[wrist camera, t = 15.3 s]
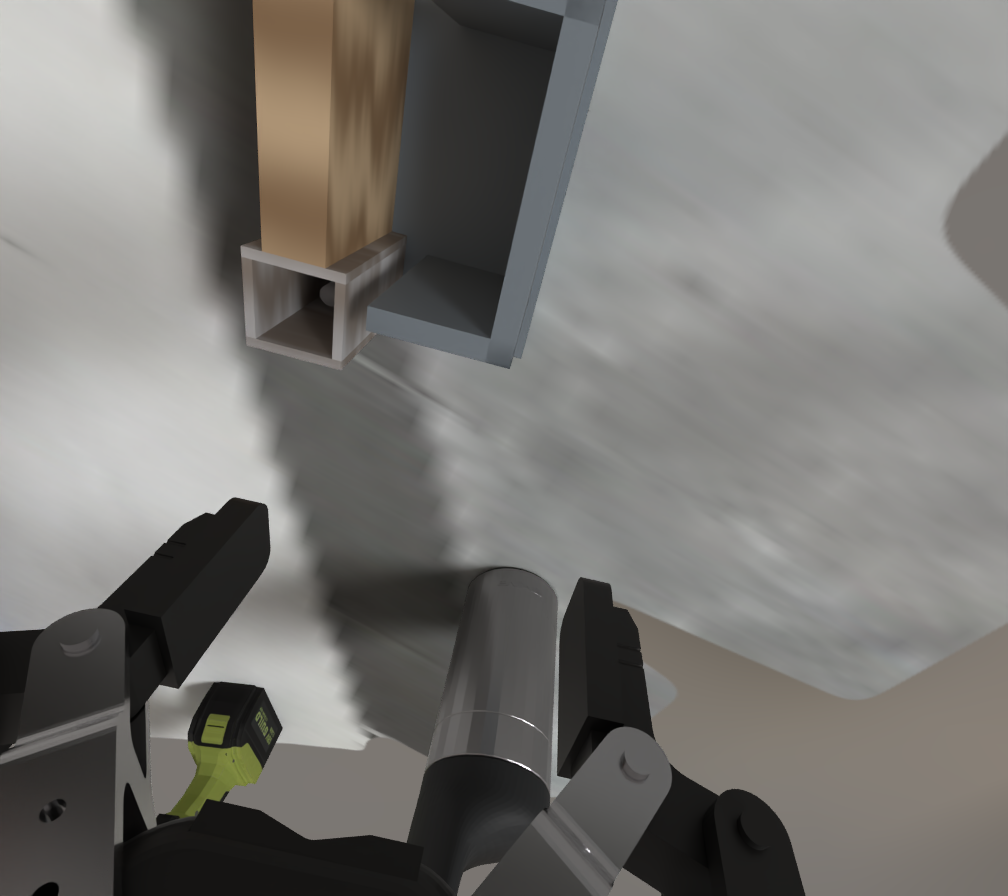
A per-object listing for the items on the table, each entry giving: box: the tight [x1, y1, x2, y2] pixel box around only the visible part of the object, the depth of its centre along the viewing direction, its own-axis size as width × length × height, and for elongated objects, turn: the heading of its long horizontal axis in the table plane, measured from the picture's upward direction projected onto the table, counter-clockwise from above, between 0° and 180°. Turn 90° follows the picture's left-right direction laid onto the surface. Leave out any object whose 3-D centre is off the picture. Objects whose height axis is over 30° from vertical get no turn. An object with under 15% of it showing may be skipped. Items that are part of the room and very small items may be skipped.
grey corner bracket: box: [320, 0, 618, 369], centre depth 25 cm, size 21×15×12 cm
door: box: [241, 0, 415, 370], centre depth 25 cm, size 19×5×10 cm, turn 167°
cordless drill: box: [156, 682, 283, 826], centre depth 56 cm, size 23×7×25 cm, turn 1°
